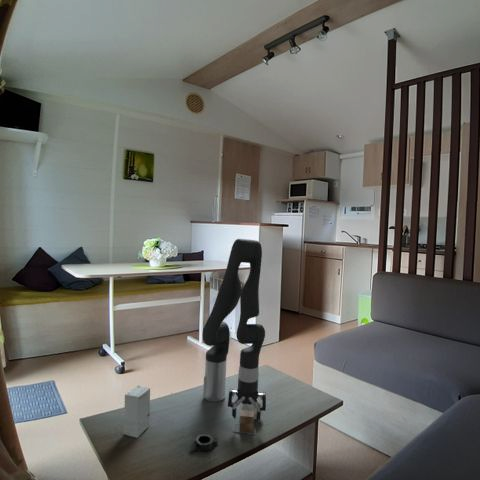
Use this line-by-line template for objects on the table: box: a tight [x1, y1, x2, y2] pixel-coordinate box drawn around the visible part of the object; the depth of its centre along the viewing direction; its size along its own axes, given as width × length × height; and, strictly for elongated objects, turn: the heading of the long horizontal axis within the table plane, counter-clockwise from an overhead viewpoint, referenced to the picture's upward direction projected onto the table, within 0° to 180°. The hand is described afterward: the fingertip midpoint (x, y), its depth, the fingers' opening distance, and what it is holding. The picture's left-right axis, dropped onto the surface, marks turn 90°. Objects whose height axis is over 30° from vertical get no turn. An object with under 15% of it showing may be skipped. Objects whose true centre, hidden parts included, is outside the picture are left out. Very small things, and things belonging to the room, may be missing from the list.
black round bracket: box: [188, 433, 219, 454], centre depth 121 cm, size 8×10×3 cm
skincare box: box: [123, 385, 151, 439], centre depth 128 cm, size 8×6×15 cm
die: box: [239, 399, 263, 421], centre depth 139 cm, size 8×9×10 cm
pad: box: [233, 423, 257, 435], centre depth 131 cm, size 8×5×1 cm, turn 85°
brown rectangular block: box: [239, 410, 255, 433], centre depth 131 cm, size 5×4×6 cm
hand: (246, 418), depth 131 cm, fingers open, 8 cm apart
